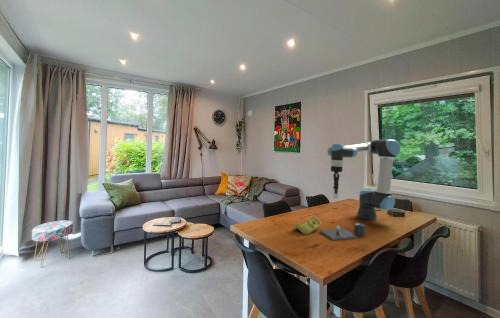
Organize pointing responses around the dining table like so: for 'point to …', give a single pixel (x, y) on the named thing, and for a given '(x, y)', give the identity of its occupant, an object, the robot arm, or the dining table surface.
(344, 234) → the hub plate
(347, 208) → the dining table surface
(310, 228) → the plastic component
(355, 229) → the knob
